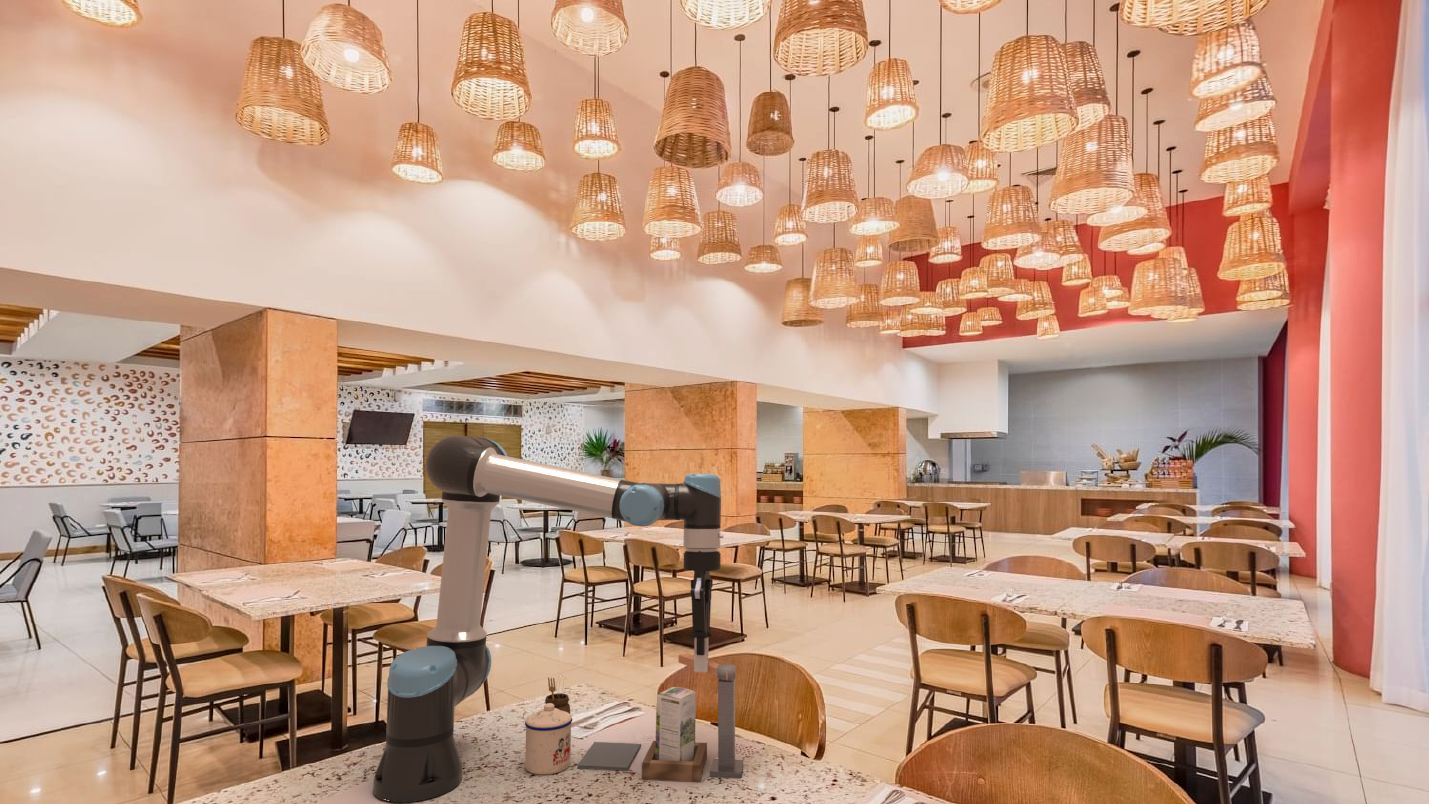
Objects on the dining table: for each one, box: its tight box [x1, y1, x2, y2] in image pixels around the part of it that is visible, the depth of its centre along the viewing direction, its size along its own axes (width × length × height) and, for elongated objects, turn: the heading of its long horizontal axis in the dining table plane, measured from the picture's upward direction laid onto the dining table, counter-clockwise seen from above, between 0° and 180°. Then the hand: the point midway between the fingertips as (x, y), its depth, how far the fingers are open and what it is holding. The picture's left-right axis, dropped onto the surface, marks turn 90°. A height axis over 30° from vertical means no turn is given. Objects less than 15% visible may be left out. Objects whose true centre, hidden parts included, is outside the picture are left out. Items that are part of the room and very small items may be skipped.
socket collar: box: [641, 740, 708, 783], centre depth 138 cm, size 11×11×3 cm
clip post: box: [709, 678, 744, 779], centre depth 137 cm, size 6×6×17 cm
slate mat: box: [576, 741, 642, 772], centre depth 143 cm, size 10×12×1 cm
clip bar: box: [677, 653, 737, 680], centre depth 143 cm, size 16×4×2 cm, turn 38°
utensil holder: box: [544, 675, 571, 715], centre depth 159 cm, size 6×6×12 cm
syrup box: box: [655, 686, 697, 762], centre depth 138 cm, size 6×6×14 cm
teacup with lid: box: [524, 703, 573, 775], centre depth 141 cm, size 12×9×12 cm
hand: (701, 671), depth 141 cm, fingers closed
